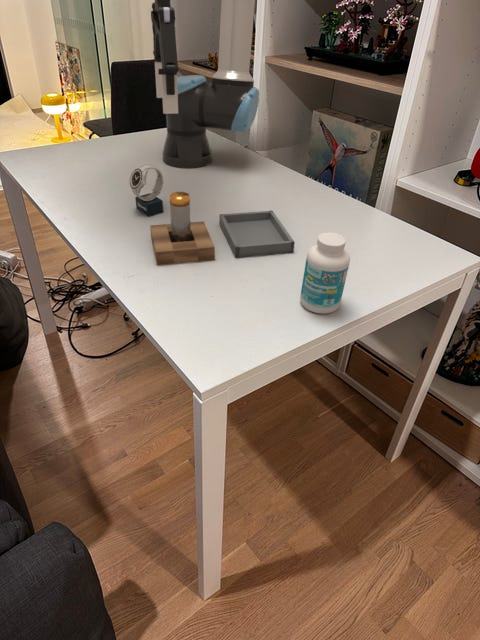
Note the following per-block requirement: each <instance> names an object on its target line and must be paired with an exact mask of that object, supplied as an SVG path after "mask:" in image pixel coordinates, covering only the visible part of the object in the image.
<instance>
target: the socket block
mask: <svg viewBox="0 0 480 640" xmlns="http://www.w3.org/2000/svg"><path fill="white" fill-rule="evenodd" d="M190 226H191V241H184V242H172V230H171V223H164V224H153V225H152V224H151V225H149V228H150V239H151V244H152V247H153V252H154V253H153V254H154V258H155V261H156V266H162V265H163V266H164V265H173V264H183V263H185V264H186V263H195V262H207V261H215V259H216V258H215V257H216V256H215V253H216V250H215V249H216V246H215V245H214V242H213V240H212V238H211V235H210V233H209V231H208V228H207V225H206V223H205V220H203V221H190Z"/></svg>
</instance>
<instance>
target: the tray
mask: <svg viewBox="0 0 480 640" xmlns="http://www.w3.org/2000/svg"><path fill="white" fill-rule="evenodd" d="M219 226H220V229H221V230H222V232H223V234H224V237H225V239H226V241H227V243H228V245H229V247H230V249H231V252H232V253H233V256H234V257H235V259H239V258H246V257H247V258H250V257H260V256H269V255H279V254H280V255H281V254H282V255H283V254H291V253H294V250H295V249H294V248H295V241H294V239H293V238H292V236H291V235H290V233H289V232H288V230H287V229H286V228H285V226H284V224H282V222H281V220H280V219H279V218H278V217H277V215H276V213H275V212H274V210H262V211H261V210H260V211H259V210H258V211H249V212H235V213H234V212H233V213H221V214H219Z"/></svg>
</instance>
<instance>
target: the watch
mask: <svg viewBox="0 0 480 640" xmlns="http://www.w3.org/2000/svg"><path fill="white" fill-rule="evenodd" d="M149 170H155V172H156V179H155V183H154V187H153V188H152V192H151V193H146V194H142V195H140V193H141V190H142V189H143V188H144V187H145V186H146V185H147V175H148V173H149ZM164 183H165V182H164V176H163V173H162V172H161V170H160V169H158V168H157V167H155V166H153V165H151V164H144V165H141V166H138V167H137V168H134V170H133V171H132V172H131V175H130V177H129V185H130V188H131V191H132V193H133V194H134V196H135V198H134V199H135V208H136V210H137V211H138V212H140V213H141V214H143V215H144V216H146V217H147V218H150V217H153V216H156V215H160V214H163V213H164V201H163V200H162V198H159V197H158V196H160V194H161V191H162V189H163V186H164Z"/></svg>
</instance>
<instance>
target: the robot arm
mask: <svg viewBox="0 0 480 640" xmlns="http://www.w3.org/2000/svg"><path fill="white" fill-rule="evenodd" d="M255 1H256V0H221V1H220V2H221V3H220V4H221V5H220V7H221V8H220V23H219V24H220V25H219V45H218V63H217V64H218V68H217V71H216V72H215V73H214V74H213V75H212V76H211V77H212V78H211V83H210V82H207V78H206V77H205V76H204V75H200V74H194V75H193V74H191V75H184V76H183V75H182V76H178V73H179V68H180V67H179V64H178V51H177V40H176V37H177V36H176V26H175V24H176V11H175V8H174V7H173V6H172V5H171V0H154V2H152V4H151V9H152V10H151V11H150V19H151V23H152V24H151V26H152V27H151V29H152V34H153V38H152V39H153V51H152V54H153V56H154V57H153V59H154V71H155V72H154V74H155V88H156V89H155V90H156V98H157V99H162V113H163V114H164V115H165V119H166V138H165V140H164V146H163V150H162V161H163V163H165V164H166V165H169V166H172V167H176V168H181V169H182V168H184V169H185V168H186V169H191V168H192V169H194V168H201V167H205V166H208V165H209V164H211V163H212V159H213V153H212V149H211V146H210V143H209V140H208V136H207V128H209V129H217V130H224V131H231V132H248V131H249V130H250V129H251V128H252V126H253V124H254V122H255V120H256V116H257V112H258V109H259V108H258V107H259V102H260V91H259V88H257V87H255V86H254V85H255V84H254V83H255V79H254V78H253V77H252V75H251V73H250V65H251V64H250V63H251V53H252V40H253V30H254V17H255V16H254V14H255Z"/></svg>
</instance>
